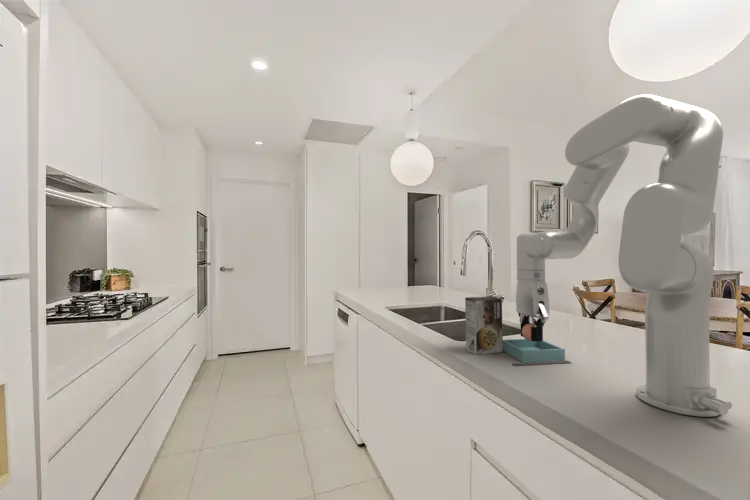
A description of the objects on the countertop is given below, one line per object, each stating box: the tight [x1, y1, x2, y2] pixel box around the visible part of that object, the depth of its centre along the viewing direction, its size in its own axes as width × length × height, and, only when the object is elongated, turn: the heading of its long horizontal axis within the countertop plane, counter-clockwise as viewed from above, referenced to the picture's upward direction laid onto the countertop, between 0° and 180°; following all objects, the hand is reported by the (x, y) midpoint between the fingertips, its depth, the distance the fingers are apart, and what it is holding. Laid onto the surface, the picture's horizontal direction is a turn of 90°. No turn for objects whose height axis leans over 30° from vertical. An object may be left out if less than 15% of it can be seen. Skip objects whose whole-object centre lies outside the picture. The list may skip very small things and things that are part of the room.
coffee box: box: [464, 295, 504, 356], centre depth 104 cm, size 9×6×16 cm
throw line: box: [511, 360, 572, 367], centre depth 91 cm, size 2×16×1 cm, turn 97°
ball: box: [522, 324, 533, 341], centre depth 99 cm, size 5×5×5 cm
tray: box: [503, 338, 566, 363], centre depth 99 cm, size 12×12×3 cm
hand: (531, 338), depth 99 cm, fingers closed on ball, 4 cm apart
